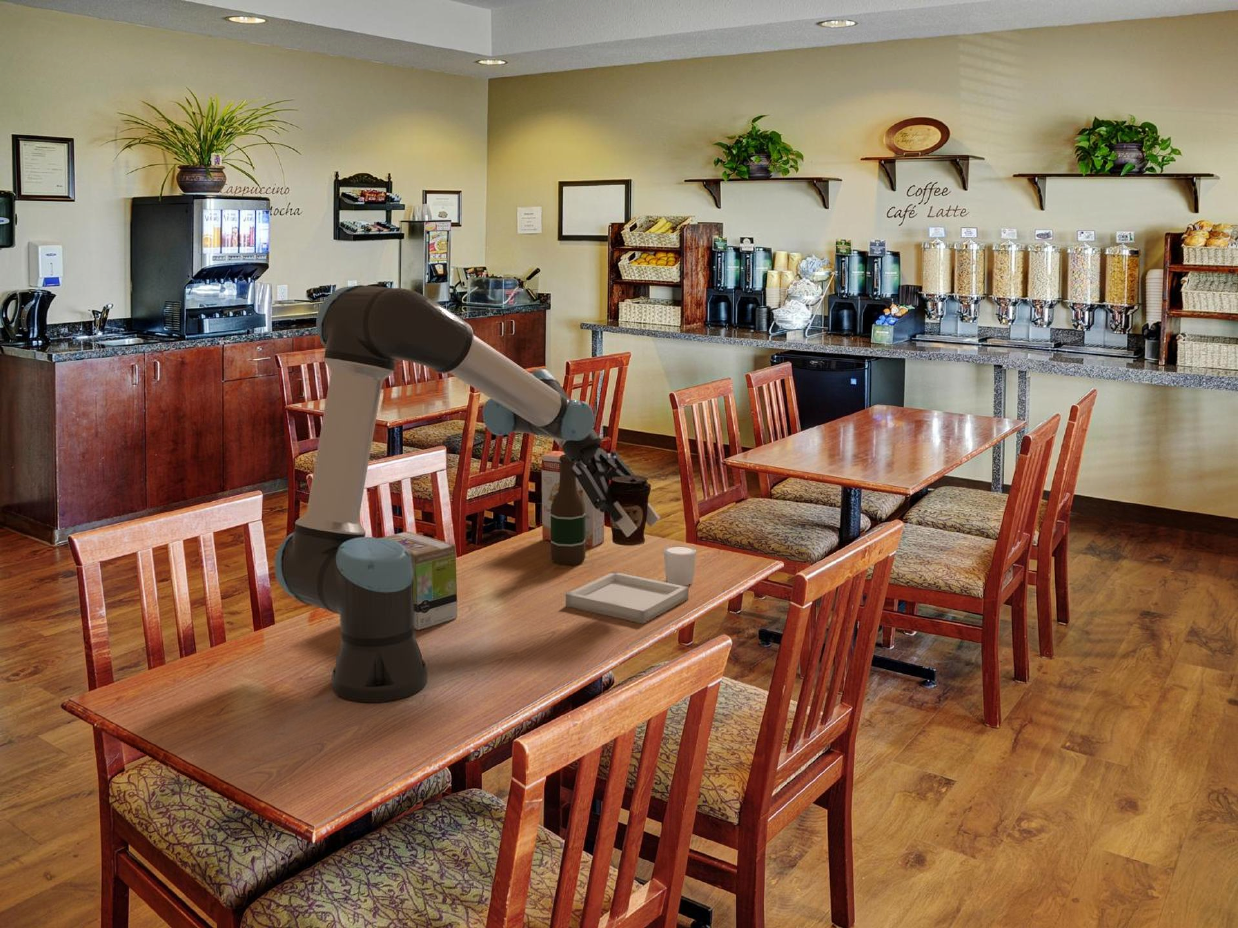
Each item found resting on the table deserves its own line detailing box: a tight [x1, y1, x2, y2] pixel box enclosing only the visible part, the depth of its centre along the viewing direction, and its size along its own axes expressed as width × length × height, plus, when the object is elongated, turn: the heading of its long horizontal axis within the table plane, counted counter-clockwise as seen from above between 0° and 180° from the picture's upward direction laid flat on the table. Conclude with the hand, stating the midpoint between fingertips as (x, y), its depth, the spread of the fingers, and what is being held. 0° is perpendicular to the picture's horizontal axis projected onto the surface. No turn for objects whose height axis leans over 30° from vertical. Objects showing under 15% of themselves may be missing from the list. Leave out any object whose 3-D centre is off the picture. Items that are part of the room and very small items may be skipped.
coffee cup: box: [607, 474, 652, 547], centre depth 218 cm, size 9×8×13 cm
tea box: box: [377, 531, 458, 631], centre depth 213 cm, size 15×10×15 cm, turn 48°
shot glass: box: [663, 545, 697, 586], centre depth 234 cm, size 7×7×7 cm
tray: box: [565, 571, 690, 625], centre depth 222 cm, size 17×18×2 cm
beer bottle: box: [550, 454, 587, 567], centre depth 246 cm, size 8×8×24 cm
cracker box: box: [541, 450, 605, 549], centre depth 262 cm, size 14×6×21 cm, turn 61°
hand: (643, 527), depth 217 cm, fingers closed on coffee cup, 8 cm apart
